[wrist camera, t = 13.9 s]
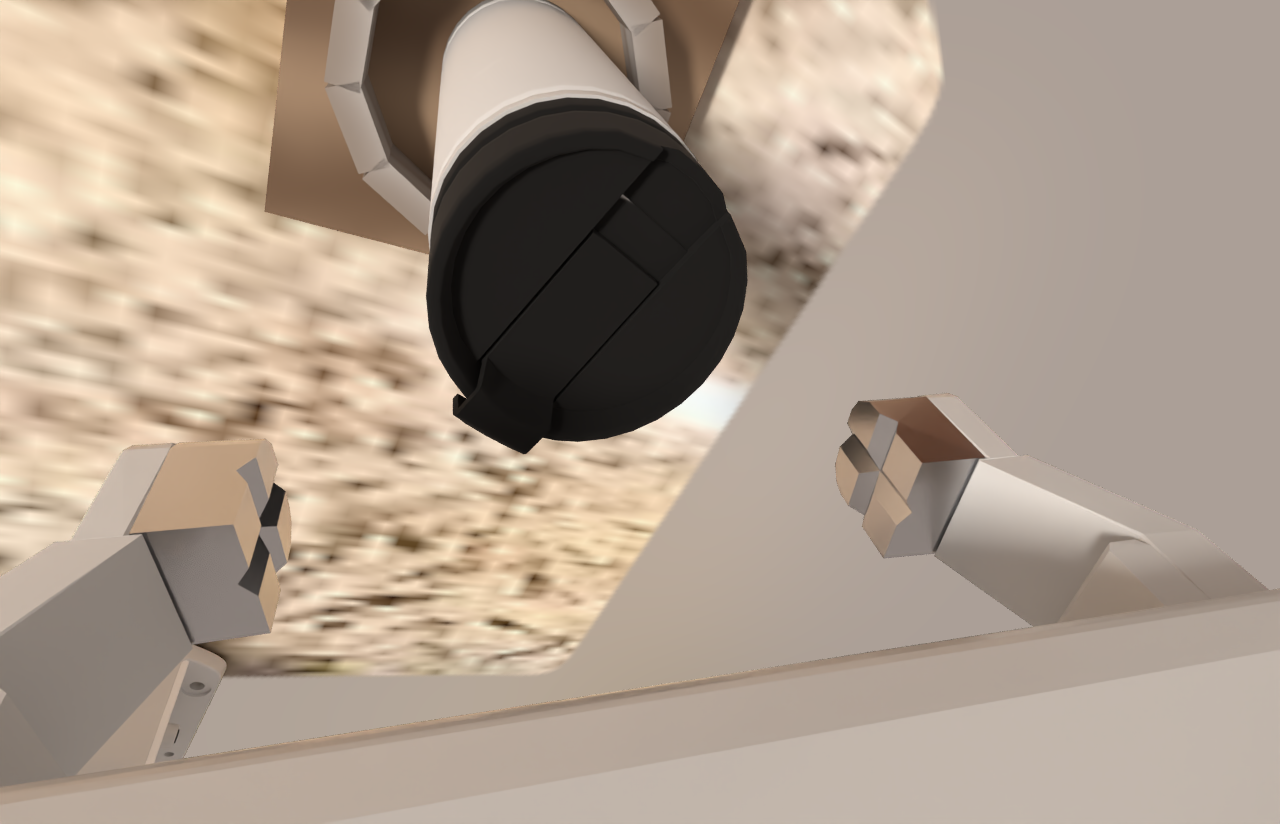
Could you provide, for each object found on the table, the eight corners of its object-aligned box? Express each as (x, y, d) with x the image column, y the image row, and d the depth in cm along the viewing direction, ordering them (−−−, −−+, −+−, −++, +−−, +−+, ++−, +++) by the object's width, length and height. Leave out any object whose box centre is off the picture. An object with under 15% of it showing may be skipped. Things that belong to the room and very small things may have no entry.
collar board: (614, 294, 36) (627, 328, 33) (269, 203, 30) (251, 234, 27) (752, -55, 28) (784, -49, 26) (321, -272, 22) (302, -294, 20)
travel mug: (404, 95, 28) (336, 362, 12) (508, -49, 26) (588, 50, 10) (528, 196, 31) (600, 507, 16) (629, 75, 29) (830, 294, 14)
